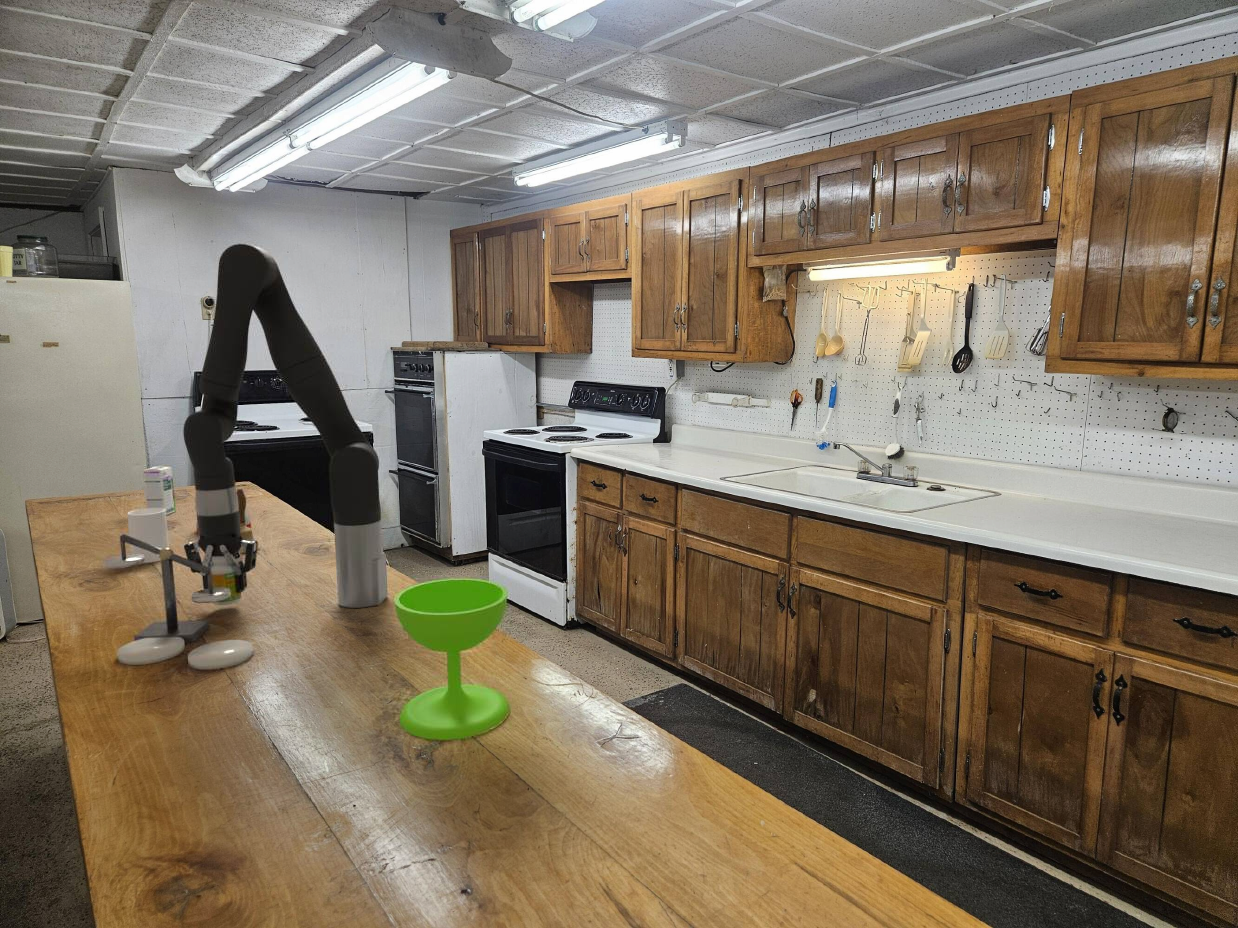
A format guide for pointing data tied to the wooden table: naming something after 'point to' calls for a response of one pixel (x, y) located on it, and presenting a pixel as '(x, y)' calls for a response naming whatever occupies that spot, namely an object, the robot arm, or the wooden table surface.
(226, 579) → the supplement bottle
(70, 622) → the wooden table surface
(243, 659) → the dish low side
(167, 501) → the syrup box
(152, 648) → the dish high side
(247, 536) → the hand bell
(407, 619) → the wineglass
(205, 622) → the balance
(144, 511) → the mug
